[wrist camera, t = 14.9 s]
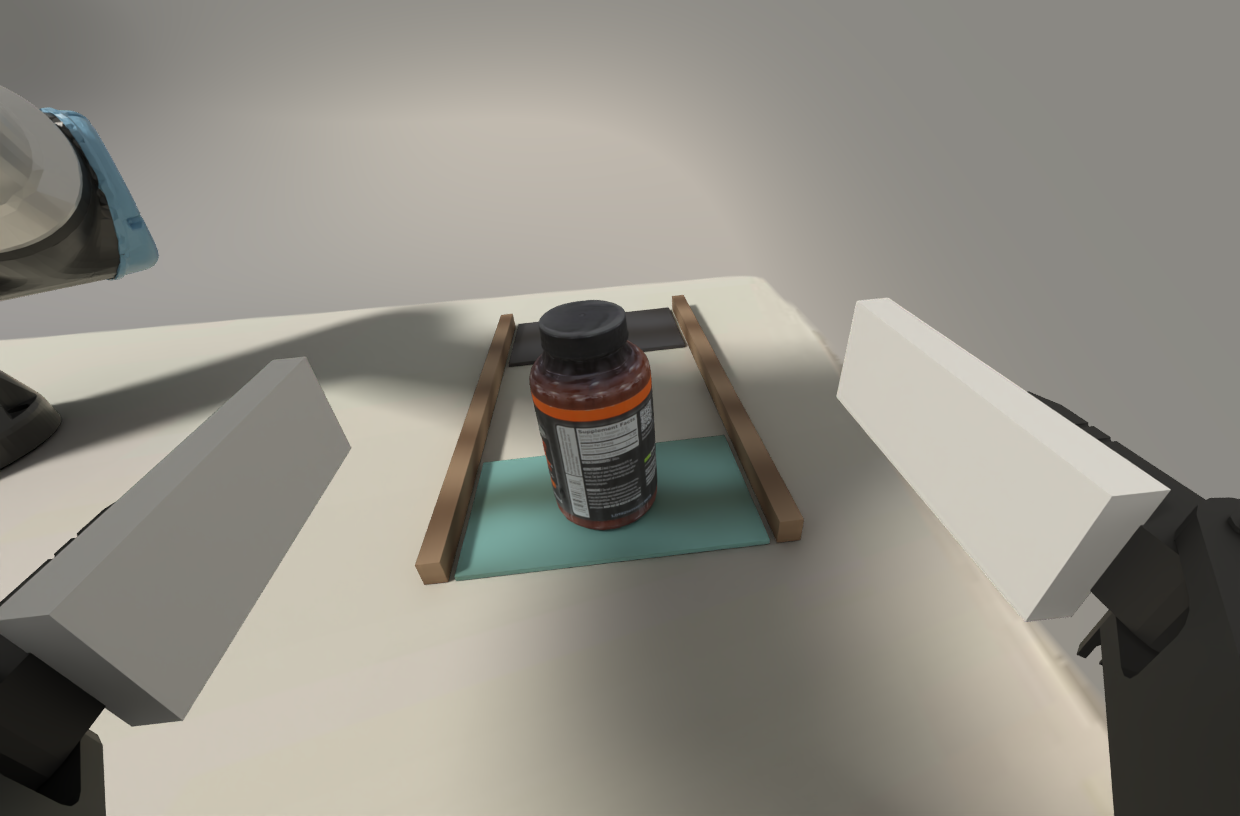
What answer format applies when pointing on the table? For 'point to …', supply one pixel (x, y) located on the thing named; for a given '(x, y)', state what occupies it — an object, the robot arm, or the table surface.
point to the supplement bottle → (595, 415)
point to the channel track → (675, 524)
